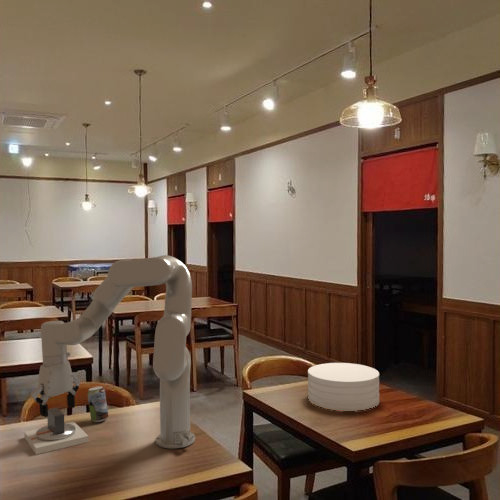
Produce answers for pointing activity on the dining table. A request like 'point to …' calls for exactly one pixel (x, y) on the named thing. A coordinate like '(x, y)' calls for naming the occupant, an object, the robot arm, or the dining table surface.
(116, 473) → the dining table surface
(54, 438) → the dial
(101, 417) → the beverage can
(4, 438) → the dining table surface
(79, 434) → the dial base
